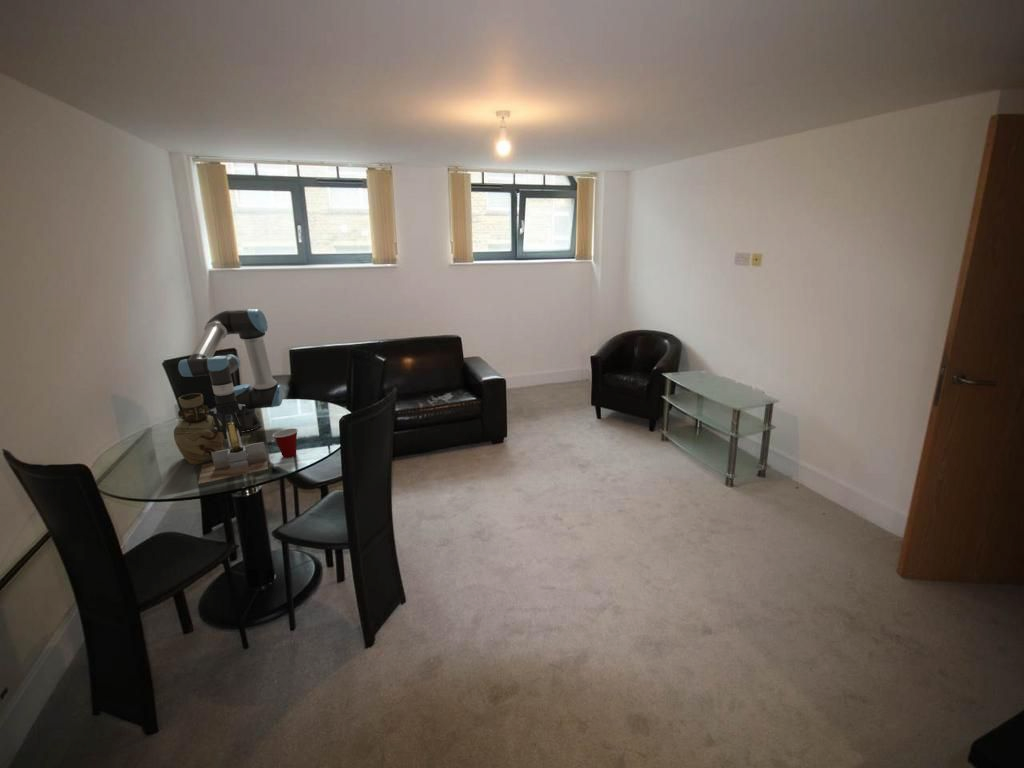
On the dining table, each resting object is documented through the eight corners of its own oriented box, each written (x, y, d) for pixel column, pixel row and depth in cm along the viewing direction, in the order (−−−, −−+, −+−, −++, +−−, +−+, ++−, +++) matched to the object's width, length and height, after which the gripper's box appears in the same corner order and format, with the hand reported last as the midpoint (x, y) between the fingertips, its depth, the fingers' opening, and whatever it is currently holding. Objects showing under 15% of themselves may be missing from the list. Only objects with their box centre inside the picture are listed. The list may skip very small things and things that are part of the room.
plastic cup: (292, 449, 234) (288, 425, 230) (306, 453, 228) (302, 429, 225) (271, 457, 225) (266, 433, 222) (285, 462, 219) (281, 437, 216)
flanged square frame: (215, 468, 213) (211, 452, 210) (248, 461, 218) (245, 445, 216) (214, 474, 207) (210, 457, 205) (248, 467, 213) (245, 451, 210)
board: (202, 467, 217) (202, 465, 217) (267, 454, 229) (266, 452, 228) (198, 486, 200) (198, 483, 200) (268, 471, 211) (268, 468, 211)
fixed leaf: (231, 465, 216) (228, 448, 213) (267, 458, 222) (263, 441, 219) (231, 471, 210) (227, 454, 208) (267, 463, 216) (264, 446, 214)
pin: (233, 452, 213) (226, 423, 209) (241, 451, 214) (235, 421, 210) (233, 455, 210) (226, 425, 206) (241, 453, 212) (235, 423, 208)
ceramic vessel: (226, 462, 221) (212, 400, 213) (174, 469, 216) (157, 406, 207) (237, 446, 239) (224, 388, 230) (188, 452, 234) (174, 393, 225)
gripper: (201, 398, 198) (213, 451, 204) (246, 392, 205) (256, 443, 211) (202, 394, 204) (214, 445, 211) (246, 387, 211) (256, 437, 218)
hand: (235, 444), depth 211 cm, fingers closed on pin, 3 cm apart
